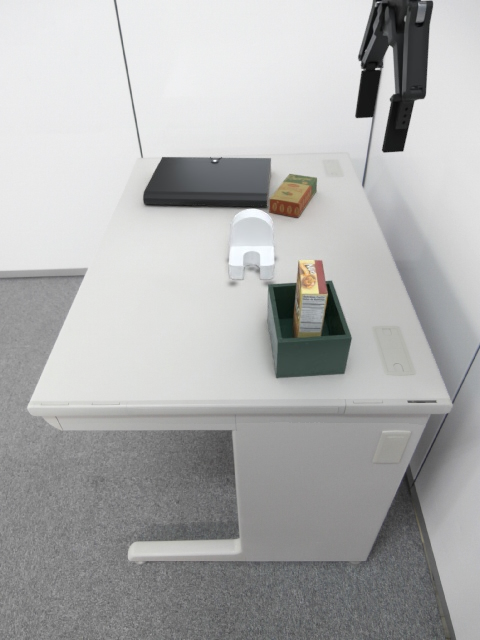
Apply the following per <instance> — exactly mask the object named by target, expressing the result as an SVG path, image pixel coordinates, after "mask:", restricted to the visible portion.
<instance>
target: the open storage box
mask: <svg viewBox="0 0 480 640" xmlns="http://www.w3.org/2000/svg"><path fill="white" fill-rule="evenodd" d="M325 281H326V286H327V292H328V296H327V303H326V309H325V316H324V322H323V328H322V335H321V336H318V337H302V338H293V317H294V306H295V295H296V283H297V282H281V283H269V284H267V311H266V312H267V313H266V316H267V319H266V320H267V327H268V333H269V340H270V346H271V352H272V353H271V354H272V360H273V365H274V366H273V367H274V372H275V378H276V379H283V378H299V377H313V376H330V375H345V374H346V368H347V364H348V359H349V355H350V350H351V349H350V348H351V344H352V339H353V337H352V334H351V332H350V329H349V326H348V323H347V322H348V321H347V320H346V317H345V314H344V311H343V307H342V306H341V305H342V304H341V302H340V299H339V295H338V293H337V290H336V287H335V284H334V282H333V280H325Z"/></svg>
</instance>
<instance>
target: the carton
mask: <svg viewBox="0 0 480 640" xmlns="http://www.w3.org/2000/svg"><path fill="white" fill-rule="evenodd" d="M317 186H318V177H316V176H309V175H301V174H294V173H289V174H288V175H287V176H286V177H285V179H284V180H283V181H282V183H281V184H280V185H279V186H278V188H277V189H276V190H275V191H274V193H273V194H272V195H271V196H270V197H269V198H268V212H269V213H272V214H277V215H282V216H286V217H291V218H299V217H300V216H301V215H302V213H303V212H304V210H305V208H306V207H307V205H308V204H309V203H310V201H311V199H312V198H313V197H314V195H315V194H316V193H317V189H318V188H317Z"/></svg>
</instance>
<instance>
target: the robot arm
mask: <svg viewBox="0 0 480 640" xmlns="http://www.w3.org/2000/svg"><path fill="white" fill-rule="evenodd" d="M433 10H434V0H372V3H371V8H370V11H369V12H370V13H369V16H368V19H367V23H366V25H365V30H364V34H363V37H362V41H361V43H360V48H359V51H358V55H357V60H358V62H360V69H361V72H360V79H359V86H358V93H357V102H356V106H355V113H354V114H355V115H354V117H355V119H368V118H374V115H375V111H376V103H377V98H378V91H379V87H380V86H379V85H380V80H381V76H382V75H381V74H382V70H381V69H383V68H384V60H383V59H384V57H385V55H386V53H387V51H388V49H389V47H391V48H392V59H393V77H394V93H393V94H392V95H391V96H390V98H389V102H390V105H389V111H388V116H387V122H386V126H385V131H384V137H383V142H382V147H381V151H382V153H386V154H387V153H400V152H401V153H402V152H405V151H404V150H405V146H406V141H407V137H408V132H409V127H410V124H411V119H412V115H413V110H414V107H415V102H416V101H418V100H425V98H426V96H427V86H428V85H427V84H428V65H429V64H428V63H429V48H430V29H431V21H432V15H433Z"/></svg>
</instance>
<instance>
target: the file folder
mask: <svg viewBox="0 0 480 640" xmlns="http://www.w3.org/2000/svg"><path fill="white" fill-rule="evenodd" d="M271 171H272V158H271V157H222V156H220V157H211V156H210V157H208V156H207V157H205V156H204V157H201V156H200V157H198V156H194V157H193V156H192V157H191V156H162V157H161V158H160V161H159V162H158V164H157V166H156V168H155V170H154V172H153V174H152V175H151V177H150V179H149V181H148V183H147V185H146V186H145V189H144V191H143V195H142V201H143V204H144V205H158V206H159V205H160V206H161V205H164V206H165V205H166V206H207V207H209V206H211V207H212V206H213V207H215V206H216V207H257V208H258V207H259V208H260V207H263V208H264V207H265V208H266V207H268V205H269V195H270V194H269V192H270V183H271V173H272V172H271Z"/></svg>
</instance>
